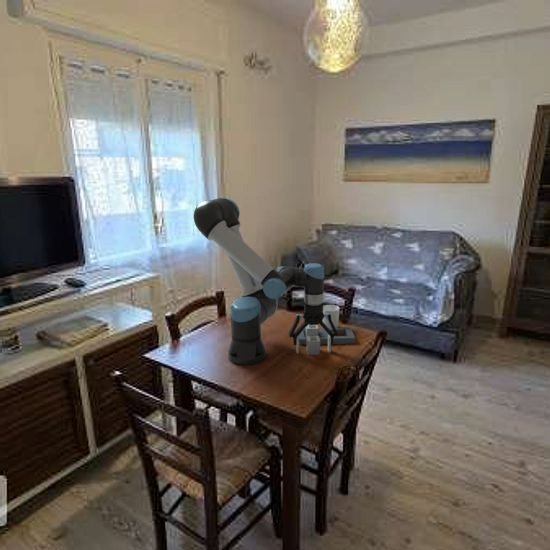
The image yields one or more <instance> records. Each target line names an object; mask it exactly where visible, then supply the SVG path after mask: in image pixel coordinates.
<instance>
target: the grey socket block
mask: <svg viewBox="0 0 550 550" xmlns="http://www.w3.org/2000/svg"><path fill="white" fill-rule="evenodd" d="M329 329H330V331H331V332H334V331H333V329H332V328H329ZM336 330H337V333H338V336H334V338H333V344H332V345H334V344H335V345H337V344H341V345H342V344H356V337H355V334H354V332H353V331H352V328H351V327H350V326H349V327H348V326H346V327H344V326H343V327H341V326H340V327H338V328H336ZM328 335H329V334H328V333H327V332H326V331H325V329H324V328H323V327H319V324H318V325H309V324H308V326H307V327H305V328H304V330H303V331H302V332H301V333H300V334H299V335H298V346H299V345H300V346H301V345H302V346H304V345H306V336H319V339H320V345H328ZM339 335H340V336H339Z"/></svg>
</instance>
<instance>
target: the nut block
mask: <svg viewBox="0 0 550 550" xmlns="http://www.w3.org/2000/svg"><path fill="white" fill-rule="evenodd" d="M305 337H306V346H305V350H306V354H307V355H308V356H312V355H313V356H315V355H317V356H318V355H321V344H320V339H319V335H318V336H306V335H305Z"/></svg>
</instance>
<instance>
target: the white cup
mask: <svg viewBox="0 0 550 550" xmlns="http://www.w3.org/2000/svg"><path fill="white" fill-rule="evenodd" d="M328 312H329V313H330V314H331V320H332V322H333V324H334V326H335V328H339V319H340V307H339V306H338V305H334V304H326V305H323V314H327V313H328ZM322 321H323V322H324V324H325V325H326V326H327V327H328V328H332V327H331V325H330V323H329V321H328V319H326V317H324V318H323V320H322Z"/></svg>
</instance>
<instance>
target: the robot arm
mask: <svg viewBox="0 0 550 550" xmlns="http://www.w3.org/2000/svg"><path fill="white" fill-rule="evenodd" d="M240 215H241V213H240V208H239V206H238V204H237V203H236V202H235V201H234V200H232V199H230V198H228V197H227V198H226V197H218V198H215V199H211V200H204V201H202V202H200V203H199V204H198V205H197V206H196V207H195V209H194V212H193V222H194V225H195V227H196V228H197V230H198V231H199V232H200V234H201V235H202V236H203V237H204V238H206V239H207V240H208V241H209V242H210V241H211V242H212V241H213V242H214V243H215V244H216V245H217V246H219V248H220V249H222V251H224V252H225V253H226V255H227V258H228V260H229V263H230V265H231V266H232V269H233V271H234V274H235V276H236V278H237V280H238V283H239V285H240V288H241V290H242V292H241V294H240V296H241V297H239V298H237V299H235V300H234V301H232V303H231V304H230V311H229V315H230V328H231V329H230V331H231V341H230V344H229V347H228V351H227V352H228V354H227V356H228V360H230V361H231V362H232V363H233V364H237V365H241V366H242V365H243V366H246V365H247V366H248V365H255V364H257V363H258V364H259V363H260V362H262V361H263V360H264V359H265V358H266V356H267V351H266V347H265V344H264V342H263V339H262V326H261V325H263V323H264V322H266V321H267V320H268V319H270V318H271V317H272V316H273V315H274V314H275V312H276V311H277V309H278V305H279V303H278V302H279V300H278V299H279V298H280V297H283V296H284V295H285V294H286V293H287V292H288V291H289V290H291V289H292V288H293V287H294V288H295V287H296V288H303V289H304V291H303V293H304V294H303V297H304V299H303V301H304V304H303V306H304V307H303V308H304V309H303V314H299V313H296V315H295V320H294V322H293V324H292V326H291V328H290V330H289V331H288V336H289V337H290V338H292V339H293V345H294V346H295V352H296V354H299V340H298V335H299V334H300V333H301V332H302V331H303V330H304V328H306V327H307V326H308V324H309V325H318V326H319V325H320V326H321V328H324V329H325V331H326V332H327V333H328V334H329V335H328V344H327V352H328V353H331V349H332V348H331V347H332V345H334V344H333V338H334V336H339V335H338V333H337V330H336V328H335V326H334V324H333V322H332V320H331V314H330V313H329V312H328V313H327V314H323V306H324V288H325V287H324V286H325V285H324V282H325V273H324V271H325V269H324V266H323V265H322V264H321V263H317V262H316V263H315V262H314V263H311V262H310V263H307V264H305V265H304V267H303V268H301V267H292V266H287V265H284V266H278V267H276V269H274V268H273V266H271V265H270V264H269V263H268V262H267V261H266V260H265V259H264V258H262V256H260V255H259V254H258V253H257V252H256V251H254V249H252V248H251V246H249V245H248V244H247V243H246V242H245V241H244V239H243V236H242V234H241V232H240V227H241V223H240V221H239V218H240ZM324 317H326V319H328V321H329V323H330V325H331V327H332V329H333V331H334V332H331V331H330V329H329V328H328V327H327V326H326V325H325V324H324V322H323V318H324ZM302 319H304V320H303V322H302V323H301V324H300V321H302ZM299 324H300V325H299ZM298 325H299V326H298ZM297 327H298V328H297Z"/></svg>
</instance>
